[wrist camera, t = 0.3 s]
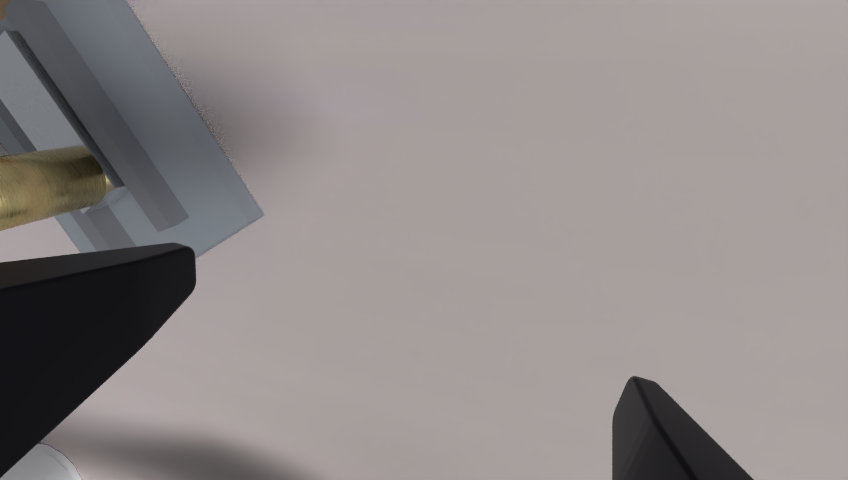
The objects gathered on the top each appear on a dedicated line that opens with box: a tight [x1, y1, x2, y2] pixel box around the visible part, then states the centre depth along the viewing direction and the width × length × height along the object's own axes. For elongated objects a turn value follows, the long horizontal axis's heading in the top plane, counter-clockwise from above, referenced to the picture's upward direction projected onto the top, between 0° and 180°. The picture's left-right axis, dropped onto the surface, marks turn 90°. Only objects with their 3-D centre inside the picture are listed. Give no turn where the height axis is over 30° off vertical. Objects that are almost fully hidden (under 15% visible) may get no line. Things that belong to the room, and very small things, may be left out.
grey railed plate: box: [0, 0, 264, 259], centre depth 25 cm, size 21×12×5 cm, turn 32°
